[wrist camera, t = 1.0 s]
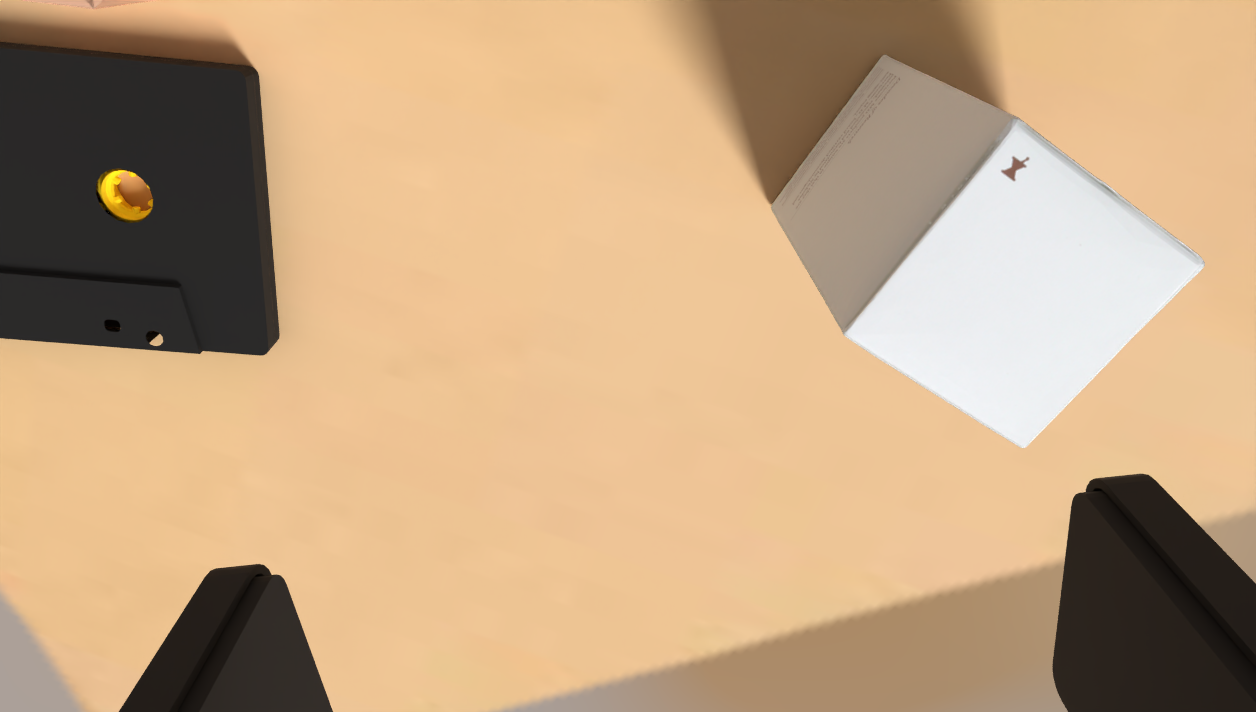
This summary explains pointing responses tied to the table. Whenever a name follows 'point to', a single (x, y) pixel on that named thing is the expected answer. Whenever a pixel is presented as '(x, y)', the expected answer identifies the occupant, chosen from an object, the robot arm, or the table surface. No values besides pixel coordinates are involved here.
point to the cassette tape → (146, 240)
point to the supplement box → (974, 250)
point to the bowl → (90, 3)
